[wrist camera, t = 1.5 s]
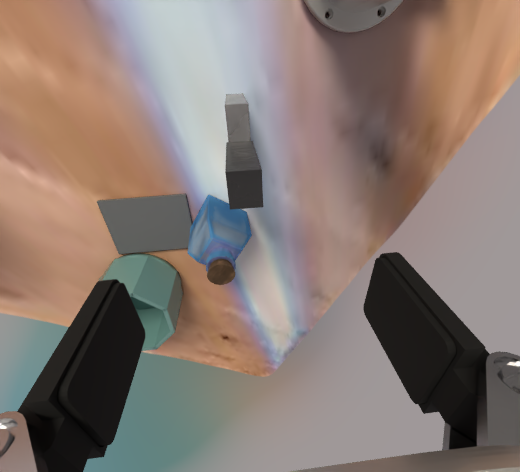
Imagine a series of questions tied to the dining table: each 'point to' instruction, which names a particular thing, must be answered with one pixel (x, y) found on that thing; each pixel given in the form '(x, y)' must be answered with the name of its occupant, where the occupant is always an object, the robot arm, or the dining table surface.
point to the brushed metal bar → (241, 157)
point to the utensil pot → (150, 293)
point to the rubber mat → (148, 222)
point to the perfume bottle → (218, 238)
